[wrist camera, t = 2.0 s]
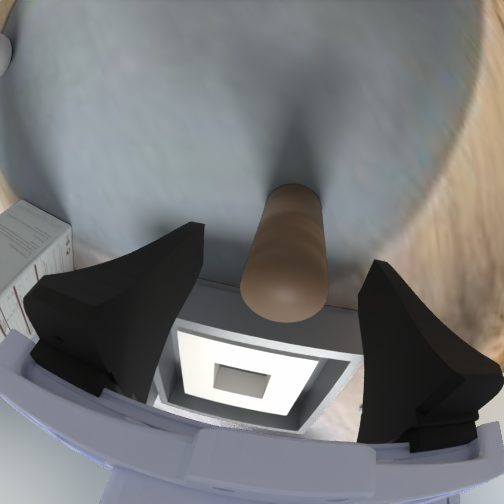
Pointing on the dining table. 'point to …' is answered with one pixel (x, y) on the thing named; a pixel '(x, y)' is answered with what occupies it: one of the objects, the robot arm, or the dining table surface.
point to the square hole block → (256, 361)
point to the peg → (287, 258)
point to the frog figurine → (4, 53)
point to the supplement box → (28, 259)
